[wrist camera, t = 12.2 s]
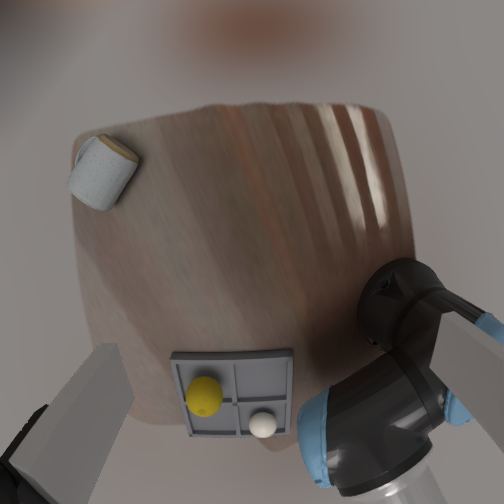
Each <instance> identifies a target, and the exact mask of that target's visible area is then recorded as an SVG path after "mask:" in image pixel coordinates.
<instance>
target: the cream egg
mask: <svg viewBox="0 0 504 504" xmlns="http://www.w3.org/2000/svg"><path fill="white" fill-rule="evenodd" d="M276 429H277V421H276V419H275V417H274V416H273V415H271V414H270V413H267V412H259V413H257V414H255V415H253V416H252V417H251V419H250V421H249V430H250V432H251V433H252V434H253V435H254V436H256V437H259V438H267V437H269V436H271V435H273V434H274V432H275V431H276Z"/></svg>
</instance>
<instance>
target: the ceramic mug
mask: <svg viewBox="0 0 504 504" xmlns="http://www.w3.org/2000/svg"><path fill="white" fill-rule="evenodd" d="M138 163H139V159H138V157H137V155H136V154H134V153H133V152H132V151H131V150H130V149H128V148H127V147H125V146H124V145H123V144H121V143H120V142H118V141H117V140H115V139H114V138H112V137H110V136H108V135H106V134H100V135H99V136H98V137H97V136H93V137H91V138H89V139H88V140H87V141H86V142H85V143H84V144H83V146H82V147H81V148H80V150H79V152H78V154H77V157H76V162H75V168H74V170H73V171H72V173H71V174H70V176H69V178H68V180H67V187H68V189H69V190H70V192H71V193H72V194H73V195H74V196H75V197H77V198H78V199H79V200H80V201H82V202H83V203H85V204H86V205H88V206H90V207H92V208H95V209H97V210H100V211H109V210H111V209H112V207H113V205H114V204H115V202H116V200H117V199H118V197H119V195H120V194H121V192H122V190H123V189H124V187H125V186H126V184H127V182H128V181H129V179H130V178H131V176H132V175H133V173H134V172H135V170H136V168H137V166H138Z"/></svg>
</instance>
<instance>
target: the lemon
mask: <svg viewBox="0 0 504 504" xmlns="http://www.w3.org/2000/svg"><path fill="white" fill-rule="evenodd" d="M222 401H223V392H222V388H221V386H220V384H219V383H218V382H217V381H216V380H214V379H213V378H211V377H207V376H202V377H198V378H196V379H194V380H193V381H192V382H191V383H190V384H189V386H188V387H187V390H186V404H187V407H188V409H189V410H190V411H191V412H192V413H193V414H195V415H197V416H200V417H209V416H212V415H214V414H215V413H216V412H217V411H218V410H219V408H220V407H221V404H222Z"/></svg>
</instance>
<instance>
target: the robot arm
mask: <svg viewBox="0 0 504 504" xmlns="http://www.w3.org/2000/svg"><path fill="white" fill-rule="evenodd" d="M358 323H359V327H360V329H361V331H362V333H363V335H364V336H365V337H366V338H367V340H368V341H369V342H370V343H371V344H372V345H373V346H374V347H376V348H378V349H380V350H382V351H385V352H386V353H385V354H383V355H382V356H380V357H379V358H377V359H376V360H374V361H373V362H371V363H370V364H368V365H367V366H365V367H364V368H362V369H360V370H359V371H357V372H356V373H354V374H352V375H351V376H349V377H348V378H346V379H344V380H343V381H341V382H339V383H337V384H336V385H334V386H332V385H330V386H328V387H327V388H326V390H325V391H323V392H321V393H320V394H318V395H316V396H315V397H313V398H311V399H310V400H308V401H306V402H305V403H304V404H303V405H302V406H301V408H300V410H299V412H298V416H297V437H298V443H299V447H300V451H301V455H302V458H303V461H304V464H305V466H306V468H307V471H308V473H309V474H310V476H311V478H312V479H314V480H315V483H316V484H317V485H318V486H319V487H321V488H327V487H328V488H331V487H333V486H334V485H335V486H336V487H337V488H338V490H339V492H340V494H341V496H342V497H343V498H344V499H350V500H355V501H359V502H361V504H447V502H446V500H445V498H444V496H443V494H442V491H441V489H440V487H439V485H438V483H437V482H436V479H435V477H434V476H433V474H432V472H431V470H430V468H429V466H428V460H429V458H430V456H431V453H432V451H433V444H432V443H431V441H430V439H429V437H428V433H429V432H431V431H432V430H433V429H435V428H436V427H437V426H438V425H440V424H441V423H443V422H444V421H445V420H446V422H447V423H449V424H452V425H454V426H461V425H463V424H464V423H465V422H466V423H467V422H470V421H471V420H472V419H474V418H475V419H476V420H477V422H478V423H479V424H480V425H481V426H482V427H483V429H484V430H485V431H486V432H487V433H488V434H489V436H490V437H491V438H492V439H493V441H494V442H495V443H496V444H497V446H498V447H499V448H500V449H501V451H502V452H503V453H504V324H502V323H501V322H500V321H499V320H497V319H496V318H495V317H494V316H493V315H492V314H491V313H488V312H485V311H484V310H482V309H480V308H478V307H477V306H475V305H473V304H472V303H470V302H468V301H466V300H464V299H463V298H461V297H459V296H458V295H456V294H454V293H452V292H450V291H449V290H447V289H446V288H445V287H444V285H443V284H442V283H441V281H440V280H439V279H438V277H437V275H436V274H435V272H434V271H433V270H432V269H431V268H430V267H428V266H427V265H425V264H423V263H421V262H419V261H417V260H414V259H399V260H395V261H393V262H391V263H389V264H387V265H385V266H384V267H382V268H381V269H380V270H379V271H377V272H376V273H375V274H374V276H373V277H372V278H371V279H370V280H369V282H368V283H367V285H366V287H365V288H364V290H363V292H362V295H361V298H360V301H359V305H358ZM134 398H135V396H134V393H133V391H132V388H131V385H130V382H129V379H128V377H127V374H126V371H125V368H124V365H123V362H122V358H121V355H120V352H119V349H118V345H117V343H102V342H101V343H100V344H99V345H98V346H97V347H96V349H95V350H94V351H93V352H92V353H91V354H90V356H89V357H88V358H87V359H86V360H85V361H84V363H83V364H82V365H81V366H80V368H79V369H78V370H77V371H76V372H75V374H74V375H73V376H72V377H71V378H70V380H69V381H68V382H67V383H66V385H65V386H64V387H63V389H62V390H61V391H60V392H59V393H58V395H57V396H56V397H55V398H54V400H53V401H52V402H51V404H50V405H47V404H45V405H44V406H43V407H41V408H40V409H38V410H37V411H35V412H34V414H33V415H32V416H31V417H30V419H29V420H28V423H26V424H25V425H24V427H23V428H22V431H20V432H19V433H18V434H17V436H16V437H15V438H14V440H13V441H12V442H11V444H10V445H9V447H8V448H7V449H6V451H5V452H4V453H3V455H2V456H1V457H0V504H88V501H89V499H90V496H91V494H92V491H93V489H94V487H95V484H96V482H97V480H98V477H99V475H100V473H101V470H102V468H103V466H104V463H105V461H106V459H107V456H108V454H109V452H110V450H111V448H112V445H113V443H114V441H115V438H116V436H117V434H118V432H119V430H120V428H121V426H122V424H123V421H124V419H125V417H126V415H127V413H128V411H129V409H130V407H131V404H132V402H133V400H134Z"/></svg>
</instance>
